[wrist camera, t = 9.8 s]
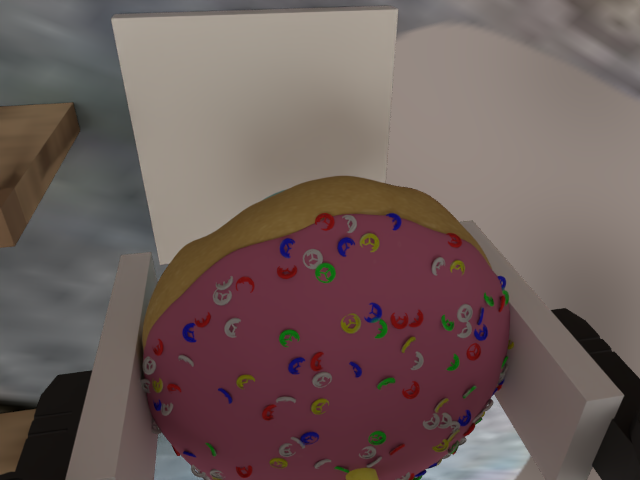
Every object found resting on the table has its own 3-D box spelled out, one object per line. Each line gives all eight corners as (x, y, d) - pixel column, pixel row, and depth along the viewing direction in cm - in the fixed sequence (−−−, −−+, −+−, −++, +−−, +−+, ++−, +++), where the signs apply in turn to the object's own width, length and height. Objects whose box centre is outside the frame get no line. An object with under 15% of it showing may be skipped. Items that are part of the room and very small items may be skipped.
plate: (161, 253, 26) (160, 264, 25) (114, 14, 20) (111, 18, 19) (376, 231, 28) (381, 241, 27) (390, 5, 22) (398, 9, 21)
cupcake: (442, 318, 19) (720, 793, 9) (209, 384, 18) (213, 963, 8) (420, 81, 14) (983, 518, 4) (105, 163, 13) (-189, 891, 3)
